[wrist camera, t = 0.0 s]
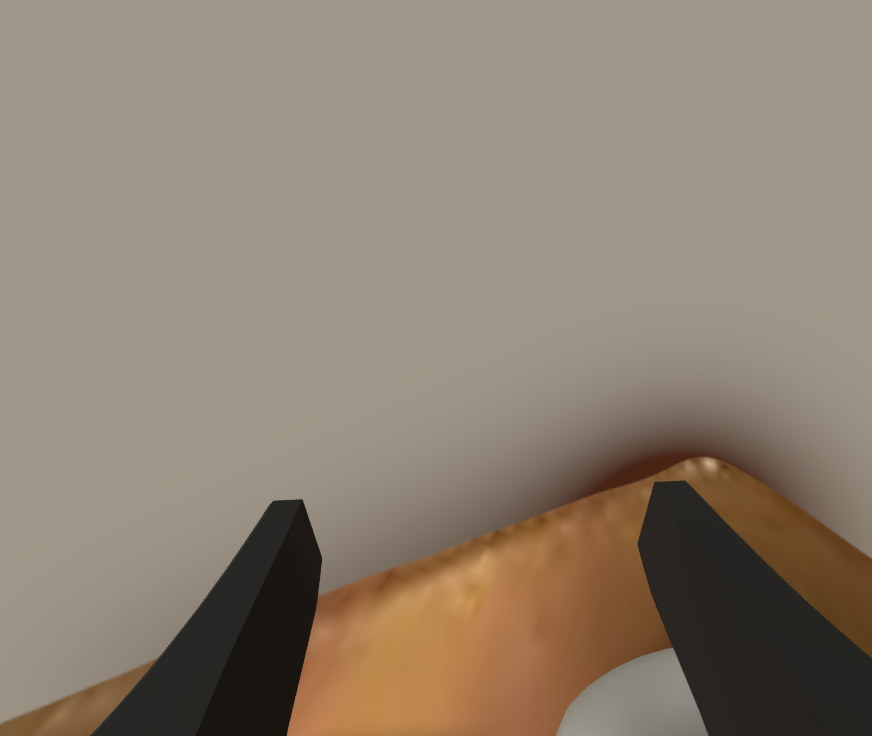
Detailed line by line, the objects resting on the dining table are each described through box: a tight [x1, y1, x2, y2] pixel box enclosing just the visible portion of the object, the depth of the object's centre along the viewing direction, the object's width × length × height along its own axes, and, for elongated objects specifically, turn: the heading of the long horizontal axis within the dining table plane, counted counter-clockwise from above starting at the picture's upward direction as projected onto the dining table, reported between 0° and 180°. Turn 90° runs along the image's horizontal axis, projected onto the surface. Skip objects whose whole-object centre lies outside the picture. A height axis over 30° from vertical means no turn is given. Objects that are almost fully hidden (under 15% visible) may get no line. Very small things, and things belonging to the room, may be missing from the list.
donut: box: [556, 648, 708, 736], centre depth 21 cm, size 10×3×10 cm, turn 100°
